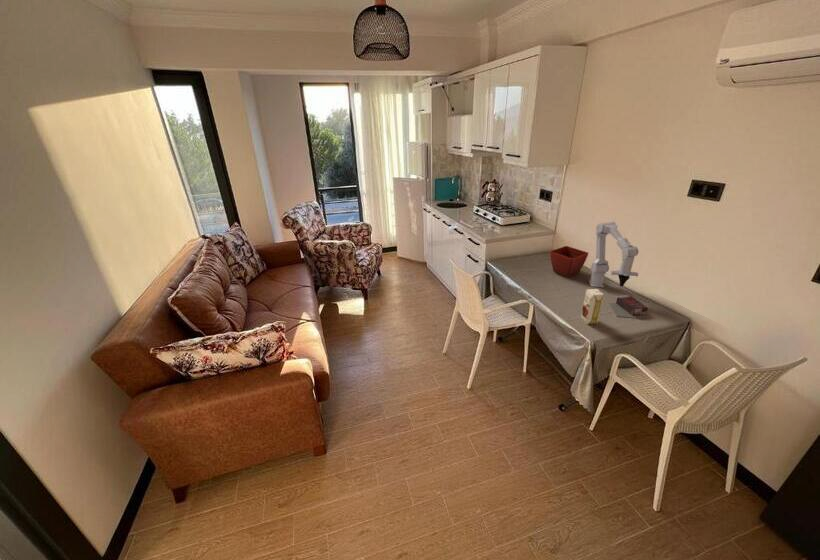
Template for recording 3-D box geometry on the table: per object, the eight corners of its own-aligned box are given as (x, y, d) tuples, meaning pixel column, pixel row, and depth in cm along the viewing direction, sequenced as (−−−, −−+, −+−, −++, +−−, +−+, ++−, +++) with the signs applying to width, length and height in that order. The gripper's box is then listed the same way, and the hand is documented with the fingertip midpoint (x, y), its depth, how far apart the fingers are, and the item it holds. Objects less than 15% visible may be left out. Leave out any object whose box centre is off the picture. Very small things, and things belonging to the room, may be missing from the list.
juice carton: (591, 316, 193) (598, 288, 185) (599, 324, 186) (606, 295, 177) (578, 317, 193) (584, 288, 185) (586, 325, 185) (592, 295, 177)
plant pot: (568, 280, 237) (572, 258, 230) (546, 271, 252) (549, 251, 245) (585, 273, 246) (589, 252, 238) (562, 265, 261) (566, 245, 253)
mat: (609, 303, 206) (609, 302, 206) (632, 305, 203) (632, 304, 202) (617, 316, 192) (617, 316, 192) (642, 318, 189) (642, 318, 189)
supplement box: (614, 302, 205) (632, 316, 191) (616, 296, 203) (634, 308, 189) (628, 301, 206) (646, 314, 191) (629, 294, 204) (648, 307, 189)
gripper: (615, 267, 198) (610, 287, 204) (642, 269, 195) (636, 289, 200) (611, 263, 204) (607, 282, 210) (638, 264, 201) (632, 284, 207)
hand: (621, 285), depth 206 cm, fingers closed
